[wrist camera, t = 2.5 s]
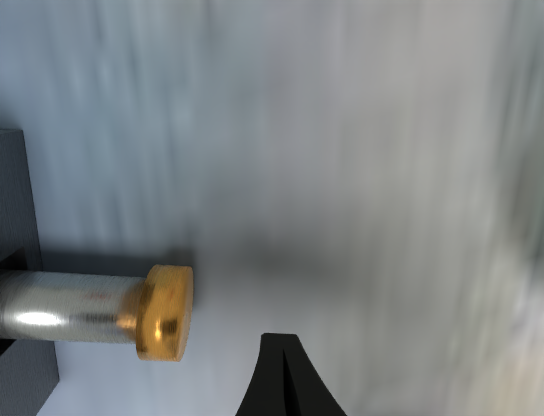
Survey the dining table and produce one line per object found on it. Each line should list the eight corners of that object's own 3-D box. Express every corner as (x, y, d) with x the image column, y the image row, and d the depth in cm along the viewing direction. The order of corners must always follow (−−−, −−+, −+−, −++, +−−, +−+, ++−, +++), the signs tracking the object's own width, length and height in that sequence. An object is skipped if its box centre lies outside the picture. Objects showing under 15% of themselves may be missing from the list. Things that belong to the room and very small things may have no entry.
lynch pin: (194, 251, 16) (175, 300, 12) (192, 320, 17) (175, 383, 14) (-85, 233, 15) (-198, 281, 11) (-64, 307, 16) (-159, 372, 13)
